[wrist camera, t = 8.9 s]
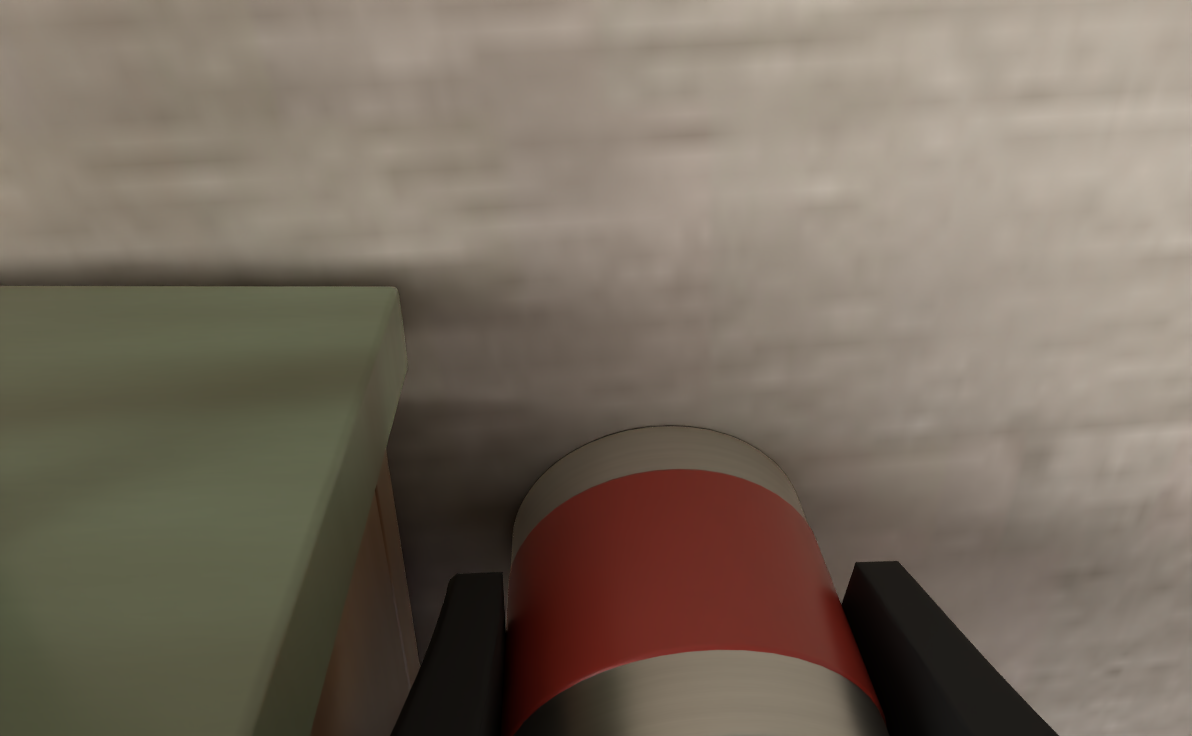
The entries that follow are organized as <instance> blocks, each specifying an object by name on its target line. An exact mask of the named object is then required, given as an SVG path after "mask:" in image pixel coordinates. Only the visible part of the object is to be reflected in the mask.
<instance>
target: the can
mask: <svg viewBox="0 0 1192 736" xmlns="http://www.w3.org/2000/svg"><path fill="white" fill-rule="evenodd" d="M501 736H890V735H889V733H888V730H887V726H886V720H885V716H884V713H883V710H882V708H881V705H880V703H879V700H878V698H877V695H876V692H875V690H874V687H873V685H872V682H871V680H870V677H869V674H868V672H867V669H866V667H865V664H864V662H863V659H862V656H861V654H860V651H859V649H858V646H857V643H856V641H855V638H854V636H853V633H852V631H851V628H850V625H849V623H848V620H847V618H846V615H845V613H844V610H843V607H842V605H841V602H840V600H839V597H838V595H837V592H836V589H835V587H834V584H833V582H832V579H831V577H830V574H829V571H828V569H827V566H826V564H825V561H824V559H823V556H822V553H821V551H820V548H819V546H818V543H817V541H816V538H815V536H814V534H813V531H812V530H811V528H810V527H809V525H808V523H807V520H806V518H805V515H804V512H803V510H802V507H801V505H800V502H799V499H798V497H797V495H796V492H795V490H794V487H793V485H792V484H791V482H790V481H789V479H788V478H787V476H786V475H785V473H784V472H783V471H782V470H781V469H780V468H779V467H778V466H777V464H776V463H775V462H774V461H772V460H771V459H770V458H768V457H767V456H766V455H765V454H763V453H762V452H761V451H759V450H758V449H756V448H754V447H753V446H751V445H749V444H747V443H746V442H744V441H741V440H739V439H736V438H734V437H732V436H729V435H726V434H723V433H719V432H716V431H712V430H708V429H701V428H695V427H686V426H656V427H645V428H639V429H633V430H627V431H623V432H620V433H616V434H612V435H608V436H606V437H603V438H601V439H598V440H595V441H593V442H590V443H588V444H586V445H584V446H582V447H580V448H578V449H577V450H575V451H573V452H571V453H570V454H568V455H567V456H565V457H564V458H562V459H561V460H559V461H558V462H556V463H555V464H554V465H553V466H552V467H551V468H550V469H548V470H547V471H546V472H545V473H544V474H543V475H542V476H541V477H540V478H539V479H538V481H537V482H536V483H535V484H534V485H533V486H532V488H531V489H530V491H529V492H528V494H527V495H526V497H525V499H524V500H523V502H522V504H521V506H520V509H519V511H518V513H517V515H516V519H515V523H514V528H513V539H512V559H511V571H510V575H509V582H508V600H507V620H506V640H505V662H504V686H503V701H502V718H501Z"/></svg>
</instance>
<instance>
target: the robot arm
mask: <svg viewBox="0 0 1192 736" xmlns="http://www.w3.org/2000/svg"><path fill="white" fill-rule="evenodd" d="M842 607H843V610H844V613H845V615H846V618H847V620H848V623H849V625H850V628H851V631H852V633H853V636H854V638H855V641H856V643H857V646H858V649H859V651H860V654H861V656H862V659H863V662H864V664H865V667H866V669H867V672H868V674H869V677H870V680H871V682H872V685H873V687H874V690H875V692H876V695H877V698H878V700H879V703H880V705H881V708H882V710H883V713H884V716H885V720H886V726H887V730H888V733H889V735H890V736H1059V735H1058V734H1057V733H1056V732H1055V731H1054V730H1053V729H1052V728H1051V727H1050V726H1049V725H1048V724H1047V723H1046V722H1045V721H1044V720H1043V719H1042V718H1041V717H1040V716H1039V715H1038V714H1037V713H1036V712H1035V711H1034V710H1033V709H1032V707H1031V706H1030V705H1029V704H1028V703H1027V702H1026V701H1025V700H1024V699H1023V698H1022V697H1021V696H1020V695H1019V694H1018V693H1017V692H1016V691H1015V690H1014V688H1013V687H1012V686H1011V685H1010V684H1009V683H1008V682H1007V681H1006V680H1005V679H1004V678H1003V677H1002V676H1001V675H1000V674H999V673H998V672H997V671H996V669H995V668H994V667H993V666H992V665H991V664H990V663H989V662H988V661H987V660H986V659H985V658H984V656H983V655H982V654H981V653H980V652H979V651H978V650H977V649H976V648H975V647H974V645H973V644H972V643H971V642H970V641H969V640H968V639H967V638H966V637H965V635H964V634H963V633H962V632H961V631H960V630H959V629H958V628H957V627H956V625H955V624H954V623H953V622H952V621H951V620H950V619H949V618H948V616H947V615H946V614H945V613H944V612H943V611H942V610H941V609H940V607H939V606H938V605H937V604H936V603H935V602H934V601H933V599H932V598H931V597H930V596H929V595H928V594H927V593H926V592H925V590H924V589H923V588H922V587H921V586H920V585H919V584H918V583H917V581H916V580H915V579H914V578H913V577H912V576H911V575H910V574H909V573H908V571H907V570H906V569H905V568H904V567H903V566H902V565H901V564H900V563H899V562H898V561H884V562H856V563H855V566H854V569H853V572H852V575H851V578H850V581H849V584H848V587H847V590H846V593H845V596H844V599H843V602H842ZM505 640H506V628H505V609H504V590H503V572H494V573H459V574H456V575H455V576H453V577H452V578H451V579H449V583H448V587H447V591H446V595H445V599H444V602H443V606H442V609H441V612H440V615H439V618H438V621H437V624H436V627H435V630H434V633H433V635H432V638H431V641H430V643H429V646H428V649H427V651H426V654H425V656H424V659H423V661H422V664H421V666H420V669H419V671H418V674H417V676H416V678H415V681H414V683H413V685H412V688H411V690H410V692H409V694H408V697H407V699H406V701H405V703H404V706H403V708H402V710H401V712H400V715H399V717H398V719H397V721H396V724H395V726H394V728H393V730H392V732H391V735H390V736H501V718H502V701H503V686H504V662H505Z"/></svg>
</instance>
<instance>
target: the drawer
mask: <svg viewBox="0 0 1192 736" xmlns="http://www.w3.org/2000/svg"><path fill="white" fill-rule="evenodd" d="M407 368H408V361H407V353H406V345H405V337H404V329H403V321H402V313H401V305H400V297H399V292H398V290H397V289H396V288H395V287H392V286H0V736H390V735H391V732H392V730H393V728H394V726H395V724H396V721H397V719H398V717H399V715H400V712H401V710H402V708H403V706H404V703H405V701H406V699H407V697H408V694H409V692H410V690H411V688H412V685H413V683H414V681H415V678H416V676H417V674H418V671H419V669H420V664H419V658H418V651H417V645H416V638H415V632H414V625H413V619H412V613H411V606H410V600H409V593H408V587H407V581H406V574H405V568H404V561H403V555H402V548H401V542H400V536H399V529H398V523H397V516H396V510H395V504H394V497H393V491H392V484H391V478H390V472H389V465H388V459H387V452H386V447H387V443H388V439H389V435H390V432H391V428H392V424H393V420H394V417H395V413H396V409H397V405H398V402H399V398H400V394H401V390H402V387H403V383H404V379H405V375H406V372H407Z"/></svg>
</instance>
